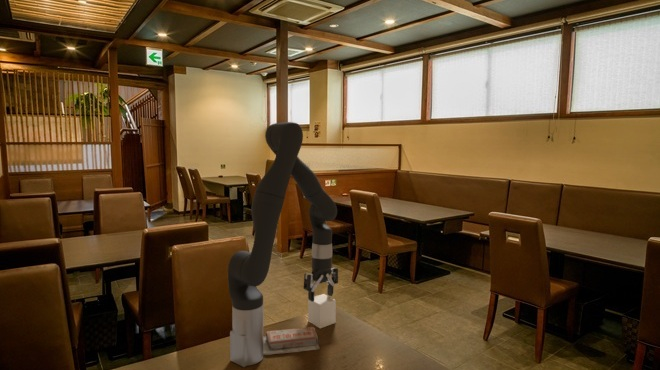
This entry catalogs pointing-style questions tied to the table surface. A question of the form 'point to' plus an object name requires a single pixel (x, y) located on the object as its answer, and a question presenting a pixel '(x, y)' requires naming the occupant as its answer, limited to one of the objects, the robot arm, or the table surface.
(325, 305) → the white foam cube
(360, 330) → the table surface
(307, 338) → the packaged product
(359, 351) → the table surface
